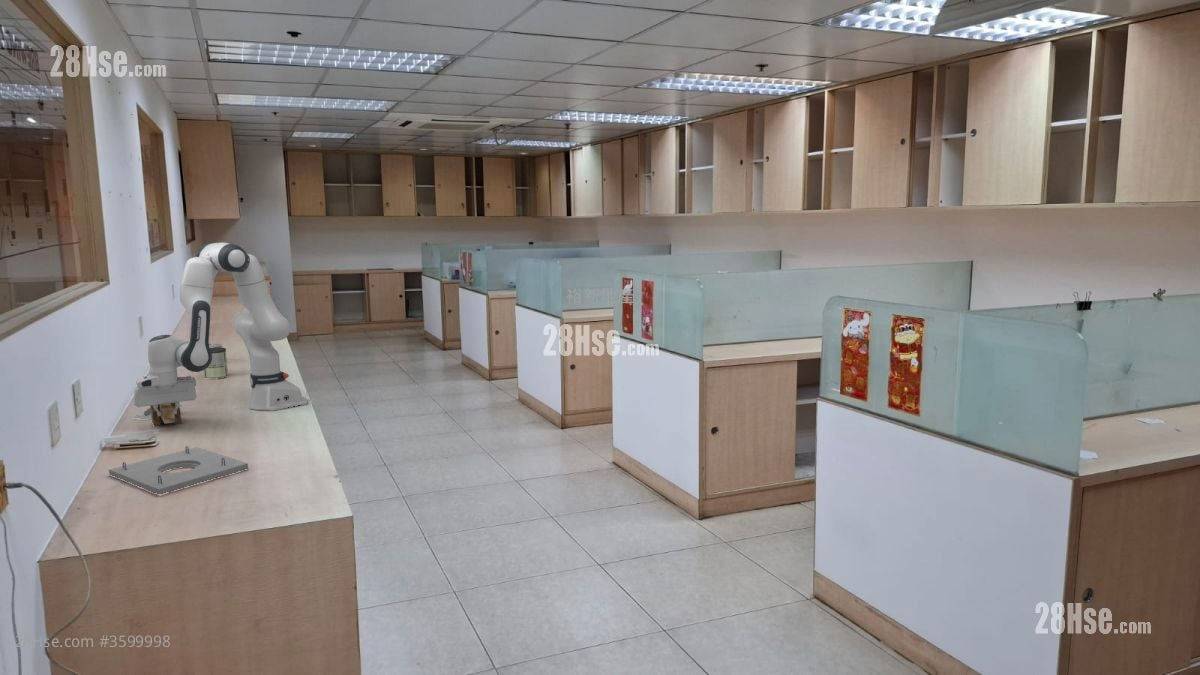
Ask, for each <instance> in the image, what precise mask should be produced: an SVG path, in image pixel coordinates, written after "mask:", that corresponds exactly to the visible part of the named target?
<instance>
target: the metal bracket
mask: <svg viewBox="0 0 1200 675" xmlns="http://www.w3.org/2000/svg"><path fill="white" fill-rule="evenodd" d="M182 406H183V405H182V404H180V405H179V408H181V407H182ZM133 418H140V419H148V420H152V418H151V408H150V407H149V408H147V409H145V410H144V412H143V414H142V415H141V414H139V415H135V416H134V417H133Z"/></svg>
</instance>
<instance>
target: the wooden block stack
mask: <svg viewBox="0 0 1200 675" xmlns="http://www.w3.org/2000/svg"><path fill="white" fill-rule="evenodd" d="M170 404H171V405H172V407H173V408H175V406H176V405H175V403H170ZM149 408H151V418H152V421H151V423H153V424H152V426H153V425H154V426H158V427H161V423H160V422H163V420H162V418H161V416H157V411H156V410H155V409H154V408H153V405H151V406H149ZM157 409H158V410H159V411H160V406H159V405H158V408H157ZM174 416H175V422H173V423H174V424H175V425H177V424H182V416H181V407H178V409H177V414H174ZM154 426H153V427H154Z"/></svg>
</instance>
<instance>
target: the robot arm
mask: <svg viewBox="0 0 1200 675" xmlns="http://www.w3.org/2000/svg"><path fill="white" fill-rule="evenodd" d="M219 272H228V273H229V272H230V273H231V275H232V277H233V280H234V284H235V287H236V291H237V295H238V299H239V302H240V303H241V305H242V306H243V307H244V308H246V309H247V311H248V312H247V313H243V314H240V315H239V316H238V317H237V318H236V320H235V322H234V329H235V332H236V333H237V334H238V336H240V337H241V339H242V340H243V342H244V344H245V348H246V350H247V353H248V356H249V364H250V374H249V376H250V377H249V379H250V380H249V381H250V382H249V384H250V387H251V396H250V404H249V409H250V410H255V411H272V412H273V411H278V410H284V409H289V408H294V407H293V406H295V407H299V406H298V405H300V406H305V405H307V404H308V403H309V400H308V398H306V397H304V396H302V395H303V394H302V391H301V389H300V388H299V387H298V386H297V385H295V384H293V383H292V382H290V381H289V380H287V379H288V378H289V376H290V375H289V373H287V372H284V371H282V370H281V363H280V354H279V352H278V350H277V349H275V347H274V346H273V344H272V342H277V341H282V340H285V339H286V338H287V337H288V336H289V334H290V332H291V325H290V321H289V320H288V319H287V318H286V317H285V316H284V315H282V314H281V313H280V311H279V310H278V308H277V306H276V305H275V303H274V302H273V300H272V298H271V295H270V293H269V289H268V285H267V281H266V278H265V274H264V271H263V269H262V266H261V264H260V262H259V260H258V258H257V257H256V256H255V255H253V254H250V253H247V252H246V250H245V249H244V248H242V247H241V246H239V245H238V244H234V243H229V242H222V241H221V242H209V243H205V244H204V245H202V246H201V247H200V249H199V250H198V252H197V254H196V256H194V257H190V258H189V259H187V261H186V262H185V265H184V267H183V270H182V274H181V279H180V285H179V300H180V303H181V305H182V306H183V308H184V309H185V310H186V312H187V313H188V316H189V320H190V323H189V324H190V328H189V340H183V339H180V338H177V337H174V336H173V335H171V334H161V335H157V336H154V337H152V338H150V339H149V341H148V344H147V359H148V363H149V374H148V375H145V376H143V377H140V378H137V379H136V382H135V383H136V384H135V385H136V387H135V389H134V392H133V404H134V406H135V407H137V408H141V407H150V406H151V405H153V408H154V409H155V410H156V411H157V416H162V411H159V410H158V409H157V408H158V405H159V404H167V403H175V405H176V406H175V408H174V414H177V409H178V407H179V405H181V404H180V403H183V402H189V401H195V400H196V399H197V397H198V395H197V391H196V385H197V380H196V378H195V377H193V376H191V375H189V376H178V367H183V368H185V370H187V371H190V372H192V373H193V372H194V373H200V372H202V371H204V370H205V369H206V368H207V367H208V366H209V365H210V364H211V361H212V353H211V350H210V347H209V344H210V328H211V327H210V326H211V307H212V300H213V294H214V286H215V285H214V284H215V279H216V276H217V275H218V273H219ZM288 407H289V408H288ZM179 408H180V407H179Z"/></svg>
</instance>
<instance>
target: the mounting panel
mask: <svg viewBox="0 0 1200 675" xmlns="http://www.w3.org/2000/svg"><path fill="white" fill-rule="evenodd" d="M180 467H194V468H190V469H188V470H184V471H178V472H176V471H175V472H166V473H163V472H164V471H166V470H169V469H174V468H180ZM180 469H181V468H180ZM245 469H248V470H249V463H248V462H245V461H241V460H238V459H236V458H232V457H229V456H226V455H223V454H220V453H216V452H212V451H210V450H207V449H205V448H201V447H198V446H195V447H191V448H189V446H185V449H183V450H180V451H176V452H172V453H169V454H165V455H160V456H156V457H151V458H149V459H144V460H140V461H136V462H134V463H130V464H127V463H126V462H125V461H123V462H122V465H120V466H118V467H115V468H109V469H108V473H109V474H110V475H112V476H115V477H117V478H120V479H123V480H125V481H127V482H130V483H132V484H134V485H137V486H139V487H142V488H144V489H146V490H148V491H151V492H153V493H157V494H163V493H166V492H171V491H174V490H177V489H181V488H184V487H187V486H191V485H194V484H197V483H200V482H204V481H207V480H211V479H214V478H218V477H221V476H225V475H229V474H232V473H236V472H238V471H242V470H245ZM109 474H108V475H109ZM236 474H237V473H236ZM229 476H230V475H229Z"/></svg>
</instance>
